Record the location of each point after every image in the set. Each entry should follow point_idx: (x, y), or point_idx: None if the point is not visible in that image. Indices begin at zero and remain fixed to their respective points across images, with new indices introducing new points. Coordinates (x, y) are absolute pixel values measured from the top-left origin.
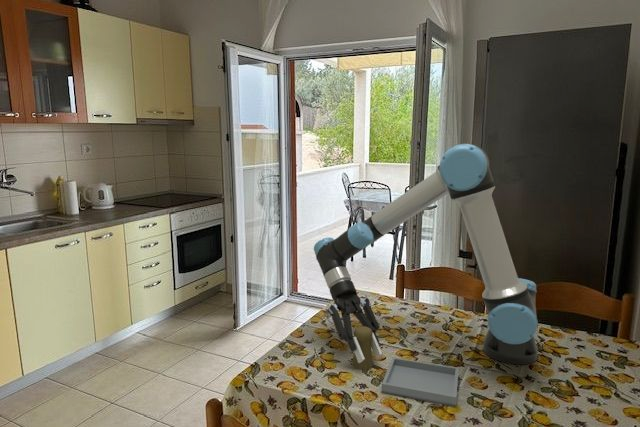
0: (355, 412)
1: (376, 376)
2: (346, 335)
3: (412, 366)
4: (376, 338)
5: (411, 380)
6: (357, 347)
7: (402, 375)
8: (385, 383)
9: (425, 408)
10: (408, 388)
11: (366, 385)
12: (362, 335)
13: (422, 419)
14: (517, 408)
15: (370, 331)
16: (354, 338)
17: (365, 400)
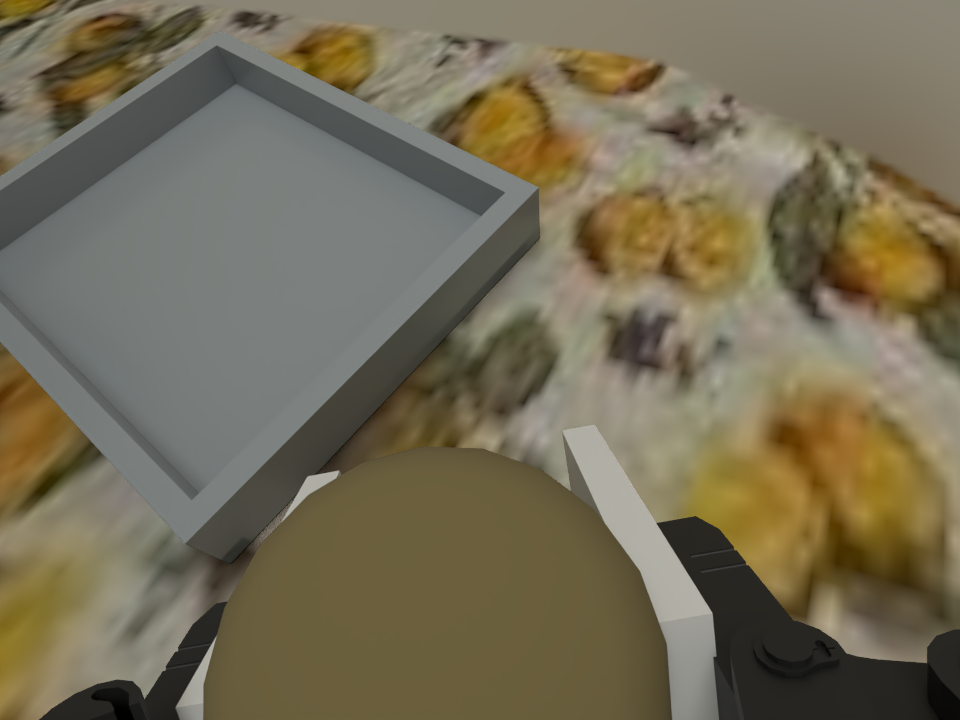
0: (771, 124)
1: (472, 429)
2: (907, 709)
3: (124, 419)
4: (197, 661)
5: (275, 280)
6: (640, 504)
7: (286, 349)
8: (510, 185)
9: (383, 94)
10: (396, 118)
11: (607, 336)
12: (540, 472)
13: (449, 43)
14: (31, 42)
15: (311, 498)
16: (691, 589)
17: (676, 197)
